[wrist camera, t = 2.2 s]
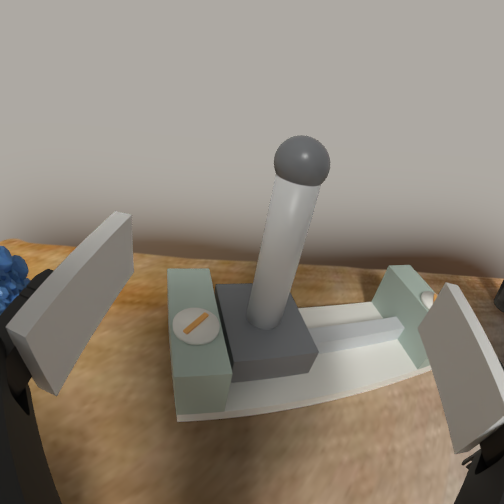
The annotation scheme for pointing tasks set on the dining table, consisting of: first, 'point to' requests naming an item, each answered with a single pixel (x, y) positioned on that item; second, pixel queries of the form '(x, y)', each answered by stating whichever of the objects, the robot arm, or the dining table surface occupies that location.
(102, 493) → the dining table surface
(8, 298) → the grapes
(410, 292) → the rail stand
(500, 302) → the beverage cup
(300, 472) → the dining table surface
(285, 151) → the carriage
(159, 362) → the dining table surface
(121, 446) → the dining table surface
